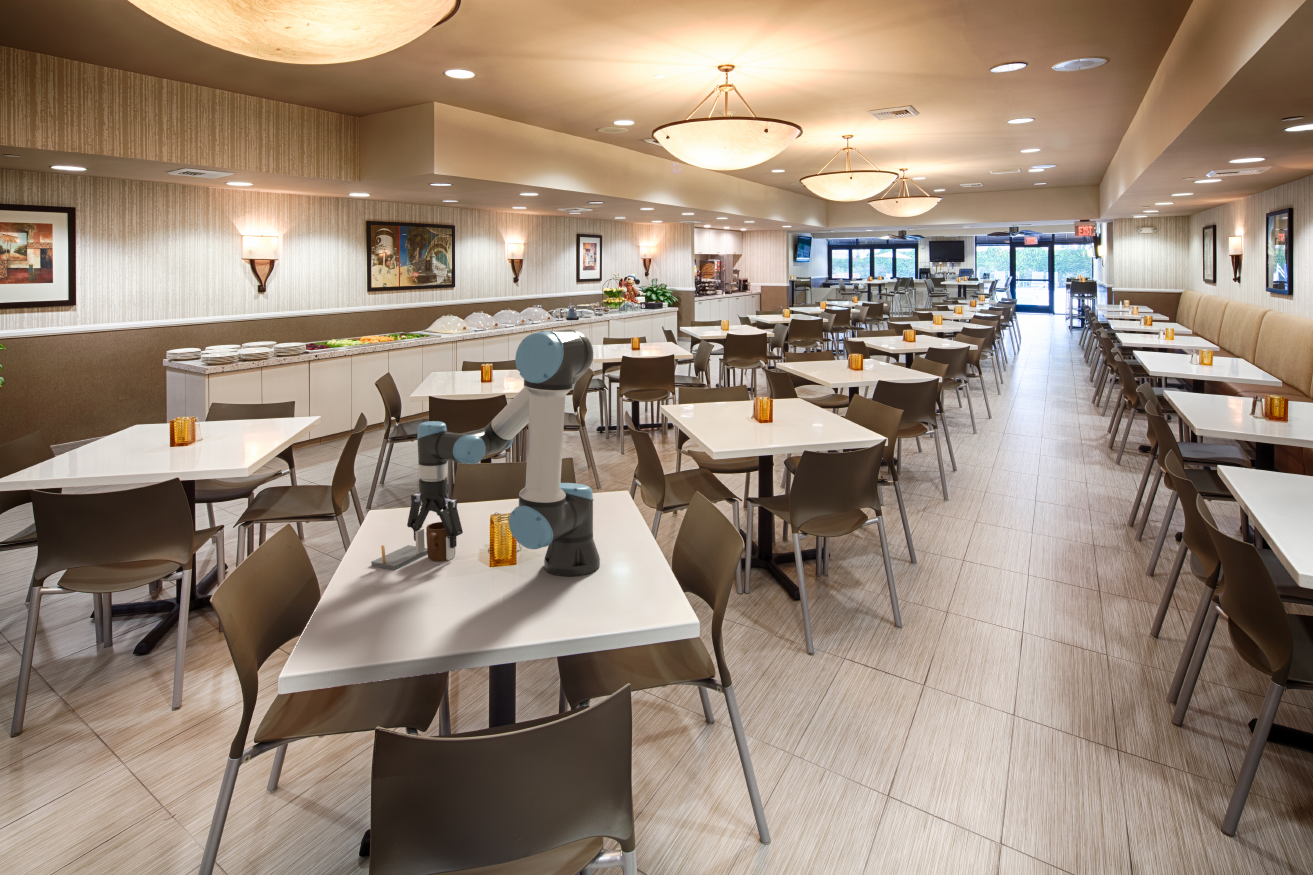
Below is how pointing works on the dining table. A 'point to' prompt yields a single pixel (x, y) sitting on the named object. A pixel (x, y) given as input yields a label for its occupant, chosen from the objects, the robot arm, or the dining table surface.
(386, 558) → the grey pegged flat base
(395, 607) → the dining table surface
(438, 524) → the mug
